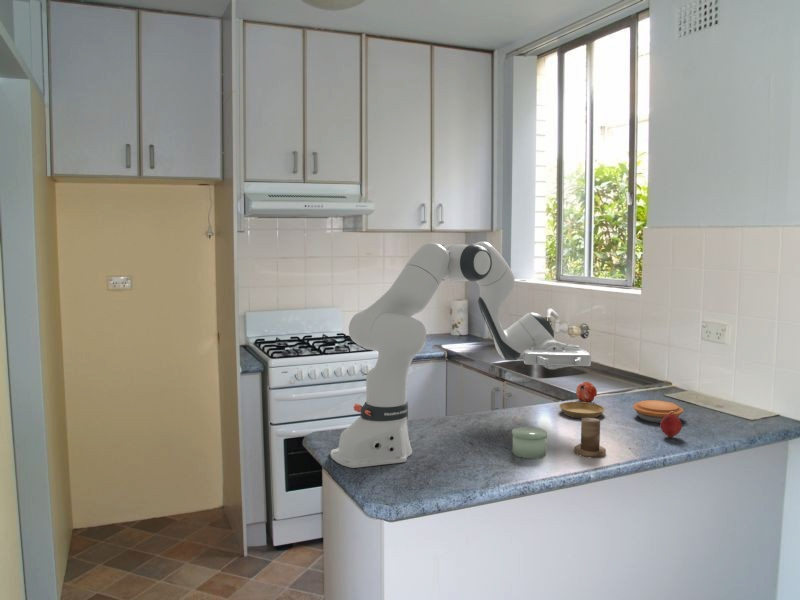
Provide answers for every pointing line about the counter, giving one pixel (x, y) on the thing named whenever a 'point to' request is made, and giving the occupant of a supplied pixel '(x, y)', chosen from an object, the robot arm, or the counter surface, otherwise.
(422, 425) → the counter surface
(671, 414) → the onion
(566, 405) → the plant saucer
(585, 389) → the pomegranate
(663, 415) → the pie
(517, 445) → the canister
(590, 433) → the lid
